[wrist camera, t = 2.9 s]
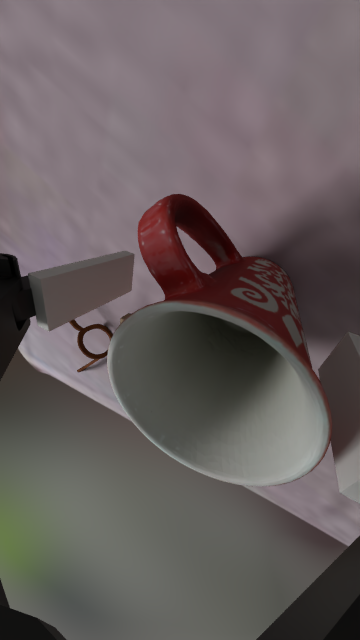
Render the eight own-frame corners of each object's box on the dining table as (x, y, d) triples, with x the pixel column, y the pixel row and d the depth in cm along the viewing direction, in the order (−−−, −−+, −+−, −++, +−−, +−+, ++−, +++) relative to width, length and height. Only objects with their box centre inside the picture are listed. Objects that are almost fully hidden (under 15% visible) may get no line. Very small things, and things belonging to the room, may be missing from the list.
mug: (315, 336, 18) (348, 521, 7) (217, 344, 23) (148, 463, 12) (289, 175, 15) (277, 66, 4) (179, 224, 19) (32, 239, 8)
